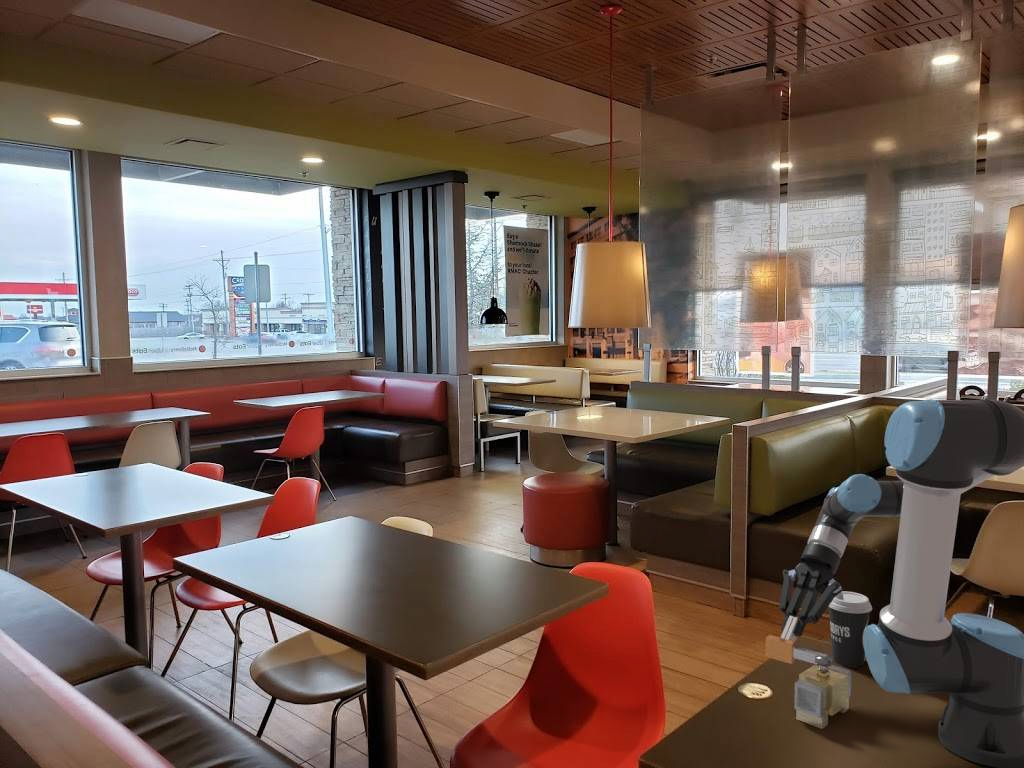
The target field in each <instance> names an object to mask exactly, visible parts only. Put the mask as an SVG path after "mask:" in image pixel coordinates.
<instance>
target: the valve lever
mask: <svg viewBox="0 0 1024 768" xmlns="http://www.w3.org/2000/svg"><path fill="white" fill-rule="evenodd" d="M765 657H766V658H769V659H772V660H776V661H780V662H784V663H786V664H790V665H792V664H794V663H795V662H796V660H799V661H804V662H807V663H810V664H814V665H817V666H819V671H821V672H828V667H829V666H832V665H833V656H831V655H829V654H826V653H821V652H819V651H814V650H812V649H811V650H810V649H808V648H803V647H799V646H797V642H796V640H795V641H791V640H787V639H784V638H781V636H776V635H772V634H769V635H767V636H766V637H765Z"/></svg>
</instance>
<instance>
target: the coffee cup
mask: <svg viewBox="0 0 1024 768" xmlns="http://www.w3.org/2000/svg"><path fill="white" fill-rule="evenodd" d="M828 610H829V611H828V613H829V624H830V638H831V639H830V640H831V649H832V650H831V651H832V661H834V662H835V663H836V664H838V665H840V664H841V665H840V666H843V665H845V666H844V667H848V666H850V667H849V668H857V667H858V666H859V667H862V666H863V665H864V663H865V662H864V661H865V657H866V655H865V650H864V643H863V635H864V630H865V628H866V627H867V626H869V621H870V612H872V610H873V607H872V605H871V602H870V599H869V597H867V596H866V595H864V594H861V593H858V592H854V591H842V592H841V593H839V594H838V595H837V596H835V597H834V599H833V600H832V602H831V603H830V605H829V606H828ZM859 667H858V668H859Z"/></svg>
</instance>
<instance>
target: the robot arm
mask: <svg viewBox="0 0 1024 768" xmlns="http://www.w3.org/2000/svg"><path fill="white" fill-rule="evenodd" d="M883 442H884V447H885V451H884V453H885V458H886V459H887V462H888V464H889V465H890V466H891V467H892V468H894V469H895V476H896V477H897V478H898V479H899V480H876V479H875V478H874V477H871V476H869V475H866V474H863V473H858V474H856V473H855V474H853V475H851V476H849V477H848V478H847V479H845V480H844V481H842V482H841V484H840V485H839V486H837V487H835V486H833V487H832V488H831V489H829V491H828V493H827V495H826V497H825V498H824V500H823V504H822V508H821V510H820V512H819V514H818V517H817V520H816V522H815V524H814V527H813V529H812V531H811V533H810V536H809V538H808V540H807V544H806V545H805V548H804V549H803V552H802V554H801V556H800V561H799V563H798V564H797V565H796V566H795V567H794V569H790V570H788V569H783V570H782V571H781V572H782V576H783V577H782V578H783V583H782V588H781V595H780V601H779V607H778V608H779V611H780V612H781V613H782V615H783V616H784V618H783V620H782V623H781V625H780V629H781V631H782V634H781V635H780V638H784V639H787V640H791V641H795V642H796V640H797V637H799V638H801V637H802V635H803V633H804V631H805V628H806V626H807V625H808V624H813V625H816V624H817V623H818V622H819V621H820V619H821V618H822V617H823V615H824V613H825V612H826V611H827V609H829V605H830V603H831V602H832V600H833V599H834V597H835V596H837V595H838V594H839V593H841V592H842V591H843V588H842V586H841V584H840V582H838V581H837V580H835V579H836V577H835V574H836V572H837V570H838V568H839V565H840V563H841V558H842V557H843V556H844V553H845V550H846V547H847V545H848V542H849V540H850V536H851V534H852V532H853V530H854V529H855V528H854V527H855V526H856V524H857V523H858V522H860V521H861V520H862V518H865V517H866V518H867V517H900V518H899V525H898V533H897V534H898V535H897V542H896V543H897V544H896V550H895V561H894V568H893V569H894V570H893V578H892V579H893V580H892V586H891V595H890V603H889V604H887V605H886V606H884V607H882V608H881V610H880V611H879V617H878V623H877V624H875V623H871V624H868V626H867V627H866V628H865V630H864V635H863V643H864V650H865V659H866V662H867V665H868V668H869V670H870V673H871V675H872V677H873V679H874V680H875V683H876V684H878V685H879V687H880V688H882V689H883V690H884V691H886V692H889V693H898V694H899V693H900V694H901V693H903V694H905V695H910V694H949V699H948V701H947V704H945V708H944V710H943V712H942V715H941V718H940V719H939V722H938V728H937V729H938V730H937V733H938V734H937V737H938V740H939V742H940V743H941V745H943V747H944V748H945V749H947V750H948V751H950V752H951V753H953V754H954V755H957V756H959V757H960V758H963V759H965V760H968V761H970V762H972V763H976V764H979V765H983V766H987V767H992V768H1024V633H1023V632H1022V631H1021V630H1020V629H1018V628H1017V627H1015V626H1013V625H1012V624H1009V623H1007V622H1005V621H1002V620H1000V619H996V618H993V617H989V616H986V615H981V614H976V613H968V612H958V613H956V614H953V615H952V618H950V621H949V620H948V618H946V616H945V613H946V605H947V597H948V590H949V583H950V576H951V567H952V559H953V554H954V553H953V552H954V547H955V538H956V531H957V524H958V516H959V511H960V510H959V508H960V502H961V495H962V494H964V493H965V492H967V491H969V490H970V489H973V488H975V487H976V486H978V485H980V484H982V483H983V482H985V481H987V480H988V479H991V478H992V477H994V476H997V477H999V476H1000V477H1002V476H1009V475H1011V474H1012V473H1014V472H1016V471H1017V470H1020V469H1021V468H1023V467H1024V410H1022V408H1020V407H1019V406H1017V405H1014V404H1012V403H1010V402H1007V401H1004V400H999V399H998V400H997V399H974V400H973V399H964V400H963V399H933V398H930V399H925V400H913V401H912V400H911V401H906V402H904V403H902V404H901V405H899V406H898V407H897V408H895V410H894V411H893V413H892V414H891V416H890V418H889V420H888V422H887V425H886V429H885V434H884V441H883ZM796 578H797V583H796V587H795V590H794V589H793V588H794V582H795V580H796ZM823 589H825V590H824V591H823V593H822V590H823ZM793 590H794V592H793ZM792 593H793V594H792ZM821 593H822V594H821ZM820 595H821V596H820Z"/></svg>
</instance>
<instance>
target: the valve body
mask: <svg viewBox="0 0 1024 768" xmlns="http://www.w3.org/2000/svg"><path fill="white" fill-rule="evenodd" d="M851 690H852V670H849V669H845V668H843V667H840V666H836V665H833V664H832V666H829V667H828V672H821V671H819V665H817V664H814V665H812V666H810V667H809V668H807V669H805V670H804V671H802V672H800V673H799V674H798V680H797V681H795V682H794V704H793V705H794V710H796V712H795V713H796V716H795V719H796V720H797V721H800V722H801V723H802V722H803V723H806V724H808V725H811V726H813V727H816V728H819V729H821V730H823V729H824V728H827V726H828V725H829V716H832V717H833V716H835V715H836V714H837V713H838V712H839V713H842V714H845V713H846V712H847V711H849V707H850V703H849V702H850V697H851V696H852V695H851V693H852V691H851Z"/></svg>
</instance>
